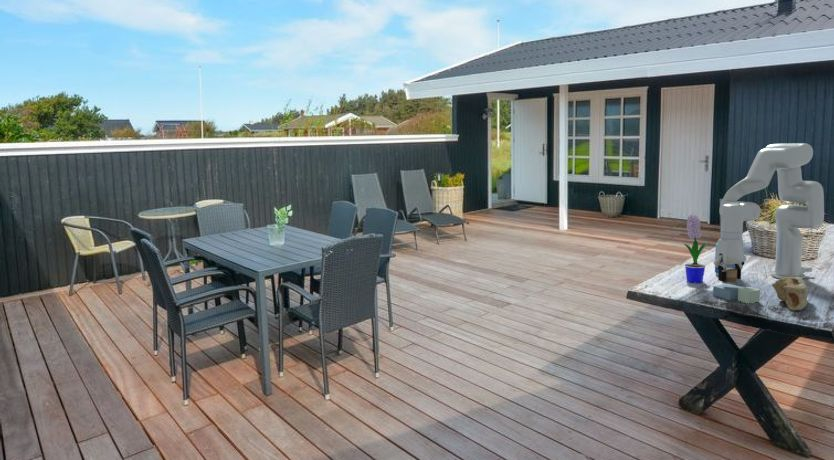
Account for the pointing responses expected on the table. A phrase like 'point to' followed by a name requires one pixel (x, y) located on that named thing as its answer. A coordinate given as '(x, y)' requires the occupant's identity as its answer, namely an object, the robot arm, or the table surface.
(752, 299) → the sage cube
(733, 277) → the walnut cube
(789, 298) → the stone
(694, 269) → the hyacinth
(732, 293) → the base block
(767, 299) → the table surface
